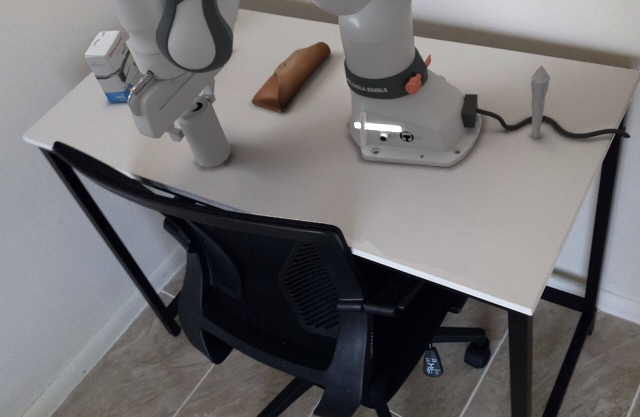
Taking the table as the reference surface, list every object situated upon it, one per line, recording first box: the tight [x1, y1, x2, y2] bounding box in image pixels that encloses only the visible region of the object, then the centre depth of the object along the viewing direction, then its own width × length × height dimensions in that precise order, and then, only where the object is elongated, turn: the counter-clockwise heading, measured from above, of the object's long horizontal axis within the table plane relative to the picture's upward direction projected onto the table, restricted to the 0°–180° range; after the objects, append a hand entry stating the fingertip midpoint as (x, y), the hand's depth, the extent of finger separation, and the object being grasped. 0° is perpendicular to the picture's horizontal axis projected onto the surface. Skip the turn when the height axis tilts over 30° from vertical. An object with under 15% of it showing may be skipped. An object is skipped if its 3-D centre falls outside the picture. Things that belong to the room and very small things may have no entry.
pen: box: [530, 65, 551, 139], centre depth 99 cm, size 2×3×14 cm
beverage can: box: [176, 95, 231, 168], centre depth 112 cm, size 6×6×12 cm
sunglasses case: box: [251, 41, 332, 114], centre depth 125 cm, size 18×7×7 cm, turn 150°
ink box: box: [84, 30, 143, 104], centre depth 131 cm, size 8×5×12 cm, turn 171°
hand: (194, 120), depth 110 cm, fingers open, 8 cm apart
